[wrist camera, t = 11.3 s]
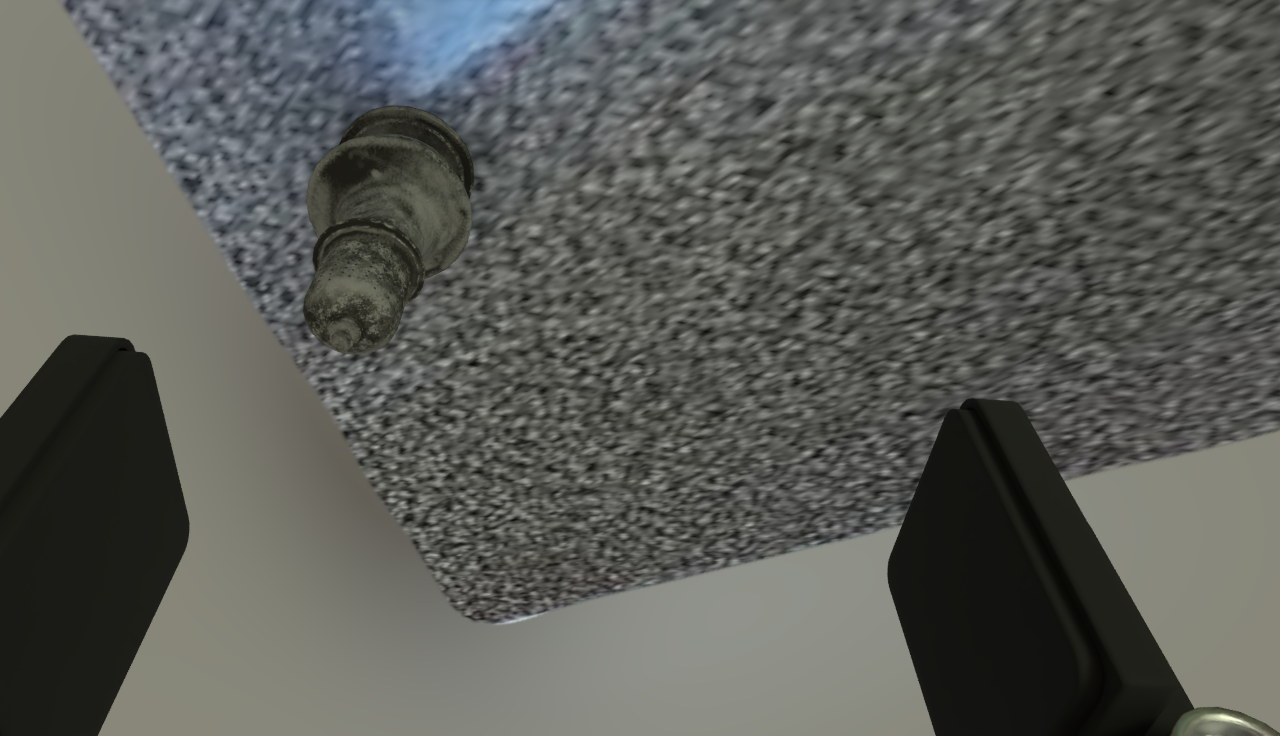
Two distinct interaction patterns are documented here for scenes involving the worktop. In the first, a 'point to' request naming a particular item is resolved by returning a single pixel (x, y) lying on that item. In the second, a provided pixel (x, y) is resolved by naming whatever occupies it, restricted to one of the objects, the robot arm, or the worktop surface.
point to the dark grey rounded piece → (384, 223)
